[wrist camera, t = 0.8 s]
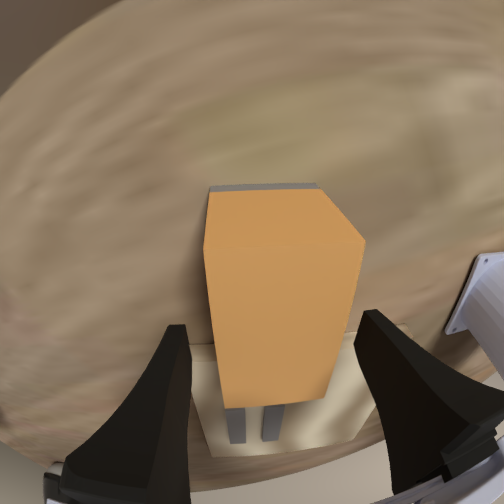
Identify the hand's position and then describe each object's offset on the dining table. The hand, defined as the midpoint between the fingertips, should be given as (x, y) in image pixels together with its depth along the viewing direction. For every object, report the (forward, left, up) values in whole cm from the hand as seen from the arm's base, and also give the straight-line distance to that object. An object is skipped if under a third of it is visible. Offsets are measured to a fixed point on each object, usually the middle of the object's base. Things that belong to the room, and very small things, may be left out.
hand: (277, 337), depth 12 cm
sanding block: (0, 0, -5) cm, 5 cm away
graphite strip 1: (+2, +15, -4) cm, 16 cm away
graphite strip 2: (-1, +15, -4) cm, 16 cm away
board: (-3, +15, -5) cm, 16 cm away
